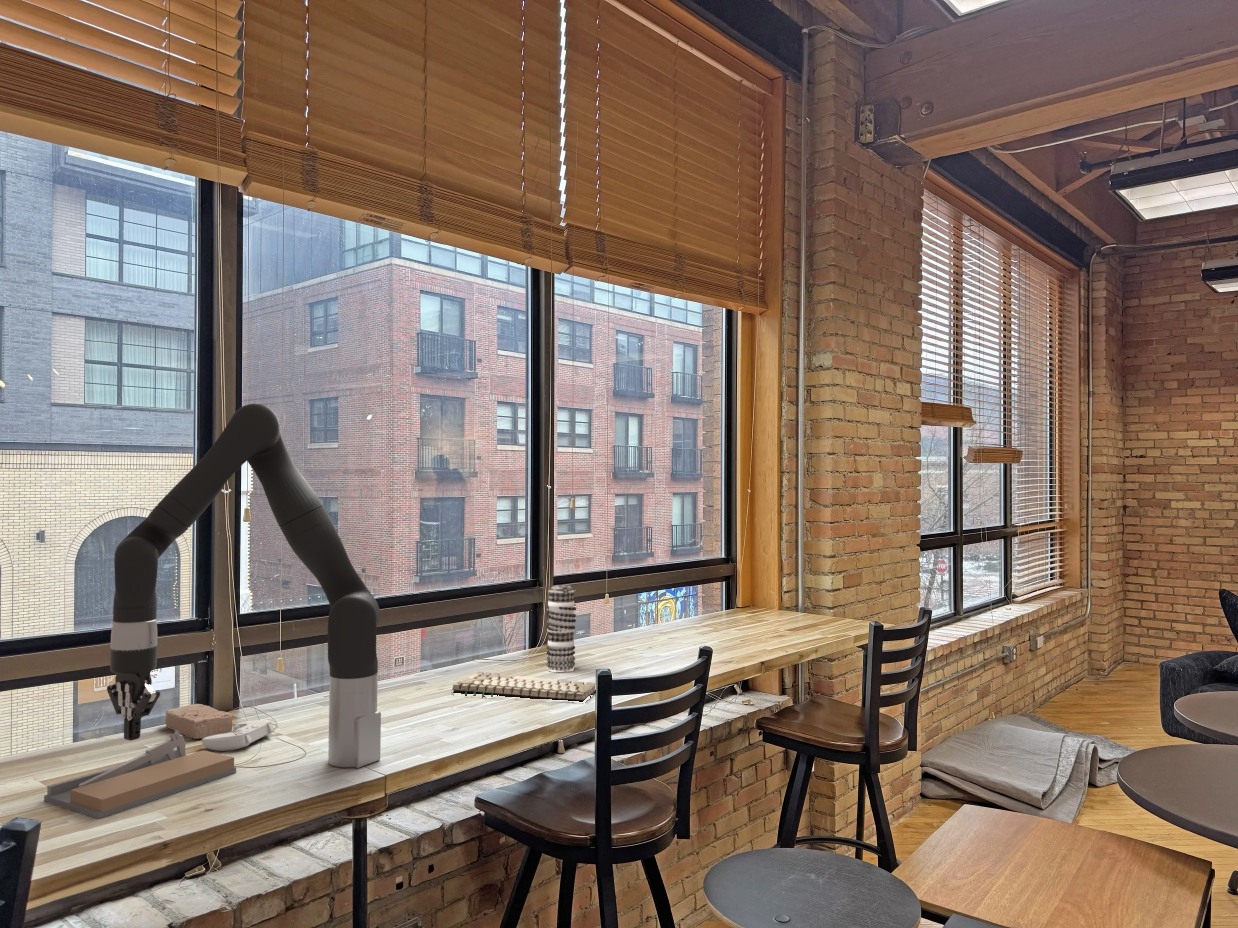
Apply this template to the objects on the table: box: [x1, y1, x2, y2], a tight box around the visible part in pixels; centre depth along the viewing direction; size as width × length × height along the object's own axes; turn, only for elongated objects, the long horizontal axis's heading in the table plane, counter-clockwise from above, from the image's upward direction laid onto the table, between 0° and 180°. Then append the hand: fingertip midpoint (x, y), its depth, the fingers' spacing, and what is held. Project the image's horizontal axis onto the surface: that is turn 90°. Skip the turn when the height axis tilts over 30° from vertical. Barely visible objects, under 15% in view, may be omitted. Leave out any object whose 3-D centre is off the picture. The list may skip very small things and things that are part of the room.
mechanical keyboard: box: [451, 671, 597, 702], centre depth 229 cm, size 38×19×3 cm, turn 77°
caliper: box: [79, 730, 186, 787], centre depth 158 cm, size 21×1×6 cm, turn 152°
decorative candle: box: [545, 584, 577, 671], centre depth 256 cm, size 9×9×25 cm
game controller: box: [201, 719, 275, 752], centre depth 182 cm, size 14×4×10 cm
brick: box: [165, 703, 234, 740], centre depth 191 cm, size 16×8×5 cm, turn 50°
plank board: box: [43, 748, 237, 820], centre depth 156 cm, size 16×26×3 cm, turn 152°
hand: (131, 738), depth 158 cm, fingers closed
